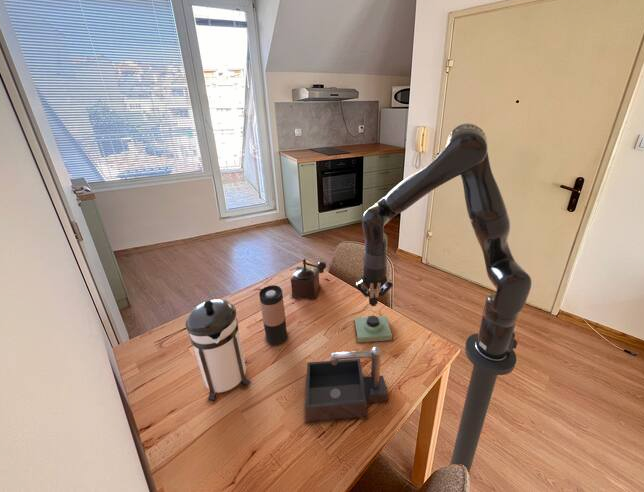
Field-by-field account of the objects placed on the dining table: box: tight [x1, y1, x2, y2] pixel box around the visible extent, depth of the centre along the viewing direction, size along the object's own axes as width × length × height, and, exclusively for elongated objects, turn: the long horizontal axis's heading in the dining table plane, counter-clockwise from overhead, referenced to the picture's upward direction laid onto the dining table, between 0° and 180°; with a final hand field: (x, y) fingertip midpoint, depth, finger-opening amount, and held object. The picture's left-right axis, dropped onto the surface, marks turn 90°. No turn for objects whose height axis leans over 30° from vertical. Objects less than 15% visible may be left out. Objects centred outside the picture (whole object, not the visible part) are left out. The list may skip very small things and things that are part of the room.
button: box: [367, 315, 379, 327], centre depth 106 cm, size 4×4×2 cm
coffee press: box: [185, 298, 250, 402], centre depth 85 cm, size 17×16×30 cm
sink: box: [305, 358, 388, 423], centre depth 84 cm, size 22×14×6 cm, turn 94°
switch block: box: [354, 315, 393, 343], centre depth 107 cm, size 12×10×4 cm
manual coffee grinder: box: [290, 258, 327, 300], centre depth 126 cm, size 16×11×18 cm
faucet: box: [330, 346, 382, 388], centre depth 81 cm, size 14×3×14 cm, turn 94°
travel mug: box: [258, 285, 288, 346], centre depth 102 cm, size 8×8×20 cm
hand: (373, 304), depth 103 cm, fingers closed
